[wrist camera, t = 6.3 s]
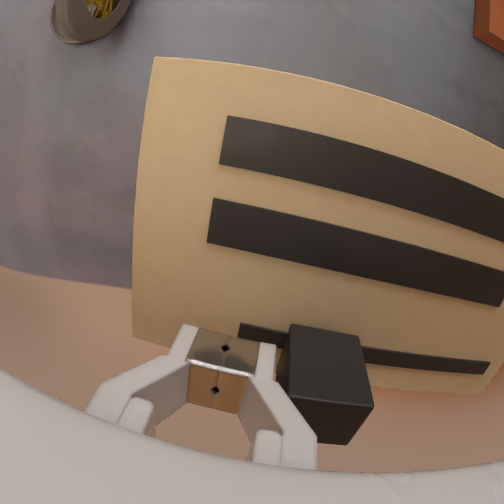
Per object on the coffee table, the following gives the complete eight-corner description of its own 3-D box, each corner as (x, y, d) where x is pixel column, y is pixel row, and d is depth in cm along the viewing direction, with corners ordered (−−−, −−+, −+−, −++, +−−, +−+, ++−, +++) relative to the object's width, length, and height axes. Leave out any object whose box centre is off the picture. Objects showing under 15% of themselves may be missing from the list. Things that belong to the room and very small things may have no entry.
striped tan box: (465, 153, 17) (580, 198, 7) (418, 287, 22) (479, 398, 11) (226, 86, 18) (152, 55, 8) (200, 238, 22) (131, 341, 12)
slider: (359, 334, 10) (375, 407, 7) (339, 375, 11) (347, 446, 8) (290, 321, 10) (288, 395, 7) (276, 365, 11) (269, 437, 8)
